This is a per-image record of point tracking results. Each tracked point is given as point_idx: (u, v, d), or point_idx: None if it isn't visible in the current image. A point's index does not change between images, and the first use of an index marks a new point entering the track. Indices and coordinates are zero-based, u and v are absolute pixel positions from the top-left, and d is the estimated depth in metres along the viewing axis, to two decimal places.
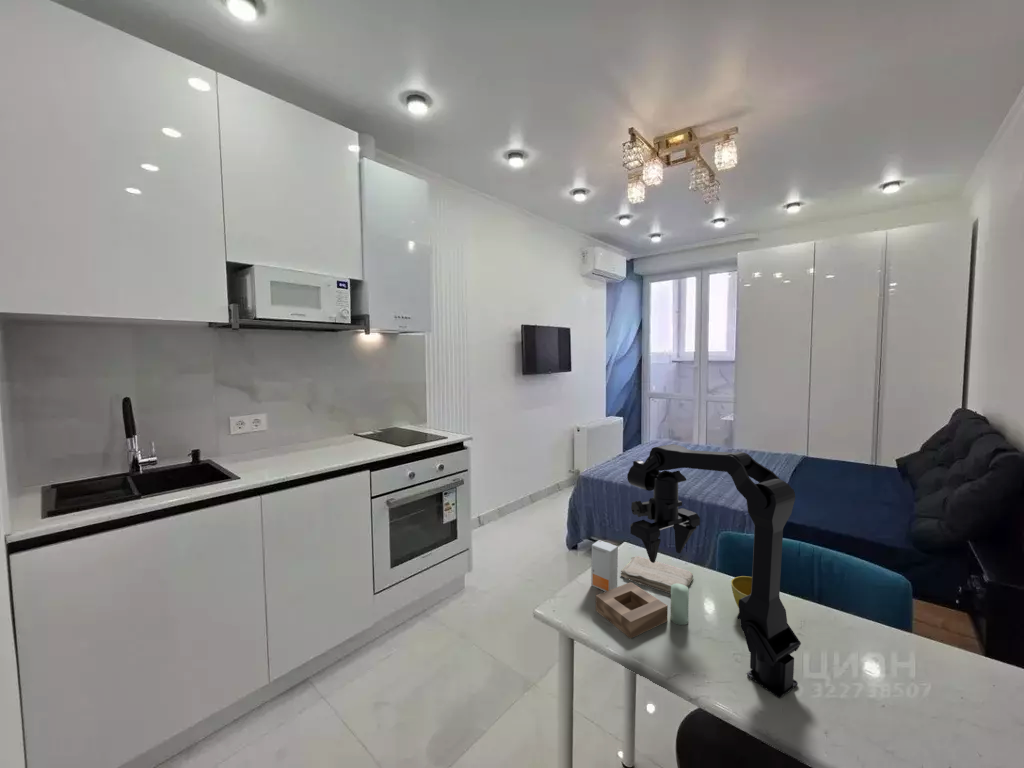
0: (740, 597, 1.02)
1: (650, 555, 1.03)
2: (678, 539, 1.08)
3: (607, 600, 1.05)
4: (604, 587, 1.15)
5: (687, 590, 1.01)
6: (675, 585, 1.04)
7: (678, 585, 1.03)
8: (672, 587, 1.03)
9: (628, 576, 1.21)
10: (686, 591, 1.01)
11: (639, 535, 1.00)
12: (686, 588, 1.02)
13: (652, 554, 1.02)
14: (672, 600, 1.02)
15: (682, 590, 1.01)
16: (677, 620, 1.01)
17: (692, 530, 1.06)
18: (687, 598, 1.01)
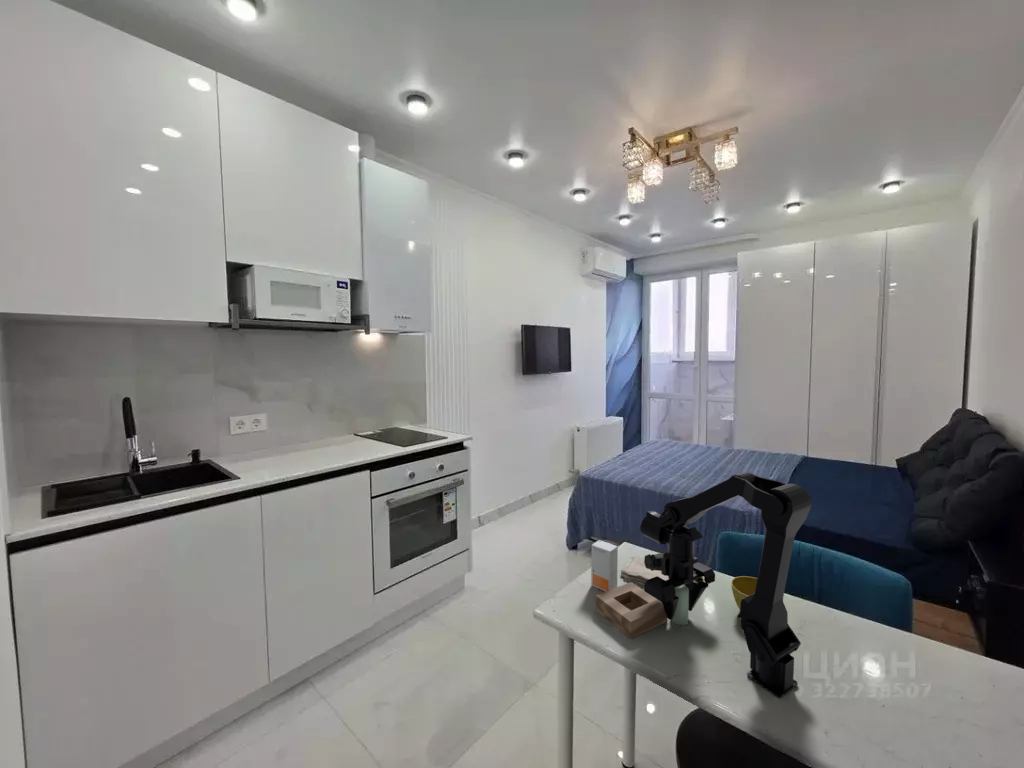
0: (740, 597, 1.02)
1: (667, 612, 1.00)
2: (689, 596, 1.04)
3: (607, 600, 1.05)
4: (604, 587, 1.15)
5: (687, 590, 1.01)
6: None
7: None
8: None
9: (628, 576, 1.21)
10: (686, 591, 1.01)
11: (654, 594, 0.97)
12: (686, 588, 1.02)
13: (670, 611, 0.99)
14: None
15: (682, 590, 1.01)
16: (677, 620, 1.01)
17: (704, 588, 1.02)
18: (687, 598, 1.01)
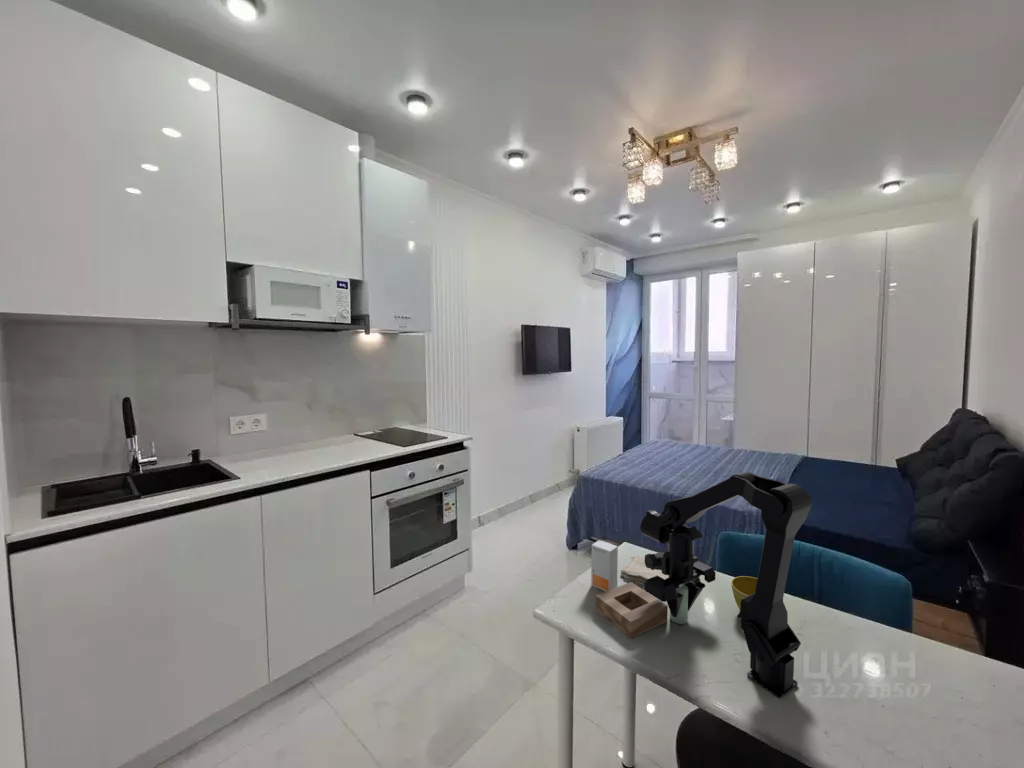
0: (740, 597, 1.02)
1: (672, 609, 1.01)
2: None
3: (607, 600, 1.05)
4: (604, 587, 1.15)
5: (686, 589, 1.01)
6: None
7: None
8: None
9: (628, 576, 1.21)
10: (685, 590, 1.01)
11: (654, 594, 0.97)
12: (686, 587, 1.02)
13: (674, 609, 1.00)
14: None
15: (682, 589, 1.01)
16: (676, 619, 1.01)
17: (701, 588, 1.01)
18: (686, 597, 1.01)
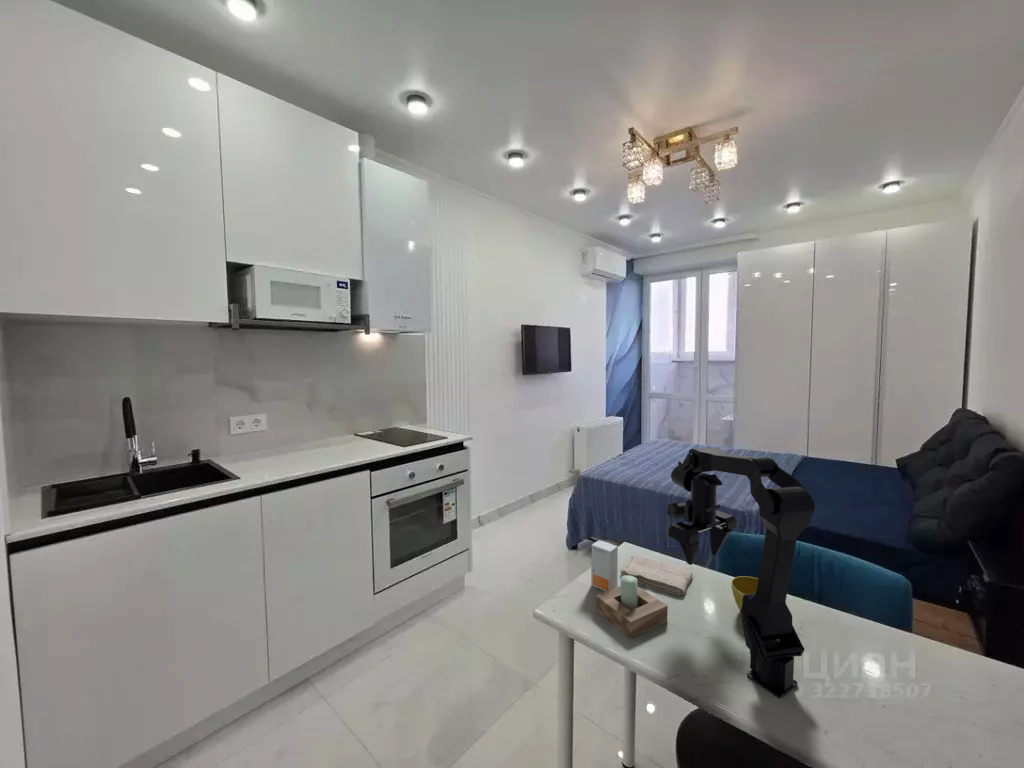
0: (740, 597, 1.02)
1: (687, 557, 1.03)
2: (714, 541, 1.08)
3: (607, 600, 1.05)
4: (604, 587, 1.15)
5: (635, 581, 1.03)
6: (625, 576, 1.06)
7: (628, 577, 1.06)
8: (621, 578, 1.05)
9: None
10: (634, 582, 1.03)
11: (678, 537, 1.00)
12: (635, 579, 1.04)
13: (690, 556, 1.02)
14: (621, 591, 1.04)
15: (631, 581, 1.04)
16: None
17: (729, 532, 1.06)
18: (635, 589, 1.03)
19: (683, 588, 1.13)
